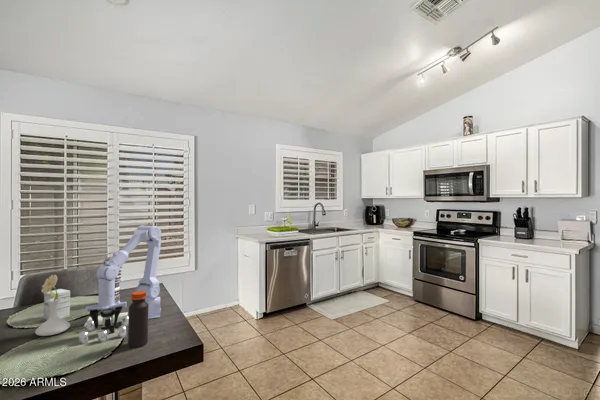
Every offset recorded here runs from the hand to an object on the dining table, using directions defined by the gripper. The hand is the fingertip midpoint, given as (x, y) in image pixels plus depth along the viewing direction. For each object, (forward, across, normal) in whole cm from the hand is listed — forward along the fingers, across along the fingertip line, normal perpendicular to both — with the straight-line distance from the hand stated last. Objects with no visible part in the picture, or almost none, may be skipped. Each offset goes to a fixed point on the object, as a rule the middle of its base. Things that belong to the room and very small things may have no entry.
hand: (106, 326), depth 124 cm
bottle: (+3, +13, -16) cm, 21 cm away
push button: (+3, 0, 0) cm, 3 cm away
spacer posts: (+3, 0, 0) cm, 3 cm away
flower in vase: (+3, -20, +9) cm, 22 cm away
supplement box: (+3, -24, +29) cm, 38 cm away
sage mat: (+3, -2, +17) cm, 17 cm away
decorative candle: (+3, -4, +43) cm, 43 cm away
